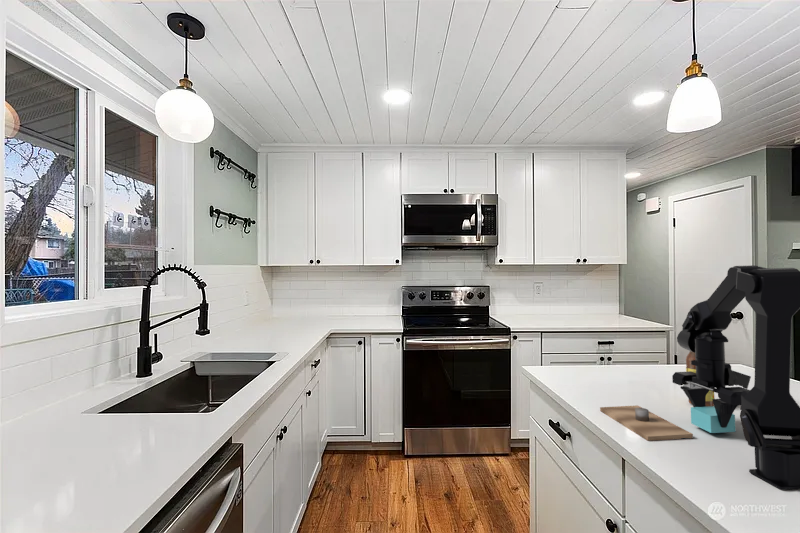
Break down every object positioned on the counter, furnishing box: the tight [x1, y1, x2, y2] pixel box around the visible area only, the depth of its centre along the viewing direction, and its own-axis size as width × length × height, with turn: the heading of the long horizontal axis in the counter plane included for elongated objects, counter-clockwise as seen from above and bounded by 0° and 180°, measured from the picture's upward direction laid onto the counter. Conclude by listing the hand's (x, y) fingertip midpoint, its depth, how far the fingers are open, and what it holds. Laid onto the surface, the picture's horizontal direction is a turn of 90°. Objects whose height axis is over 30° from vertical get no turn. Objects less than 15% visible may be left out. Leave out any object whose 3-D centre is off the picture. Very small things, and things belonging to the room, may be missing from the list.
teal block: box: [690, 406, 736, 434], centre depth 97 cm, size 6×6×4 cm
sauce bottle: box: [685, 351, 716, 407], centre depth 116 cm, size 6×6×20 cm
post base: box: [599, 404, 694, 442], centre depth 103 cm, size 20×11×4 cm, turn 3°
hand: (712, 422), depth 97 cm, fingers closed on teal block, 6 cm apart
